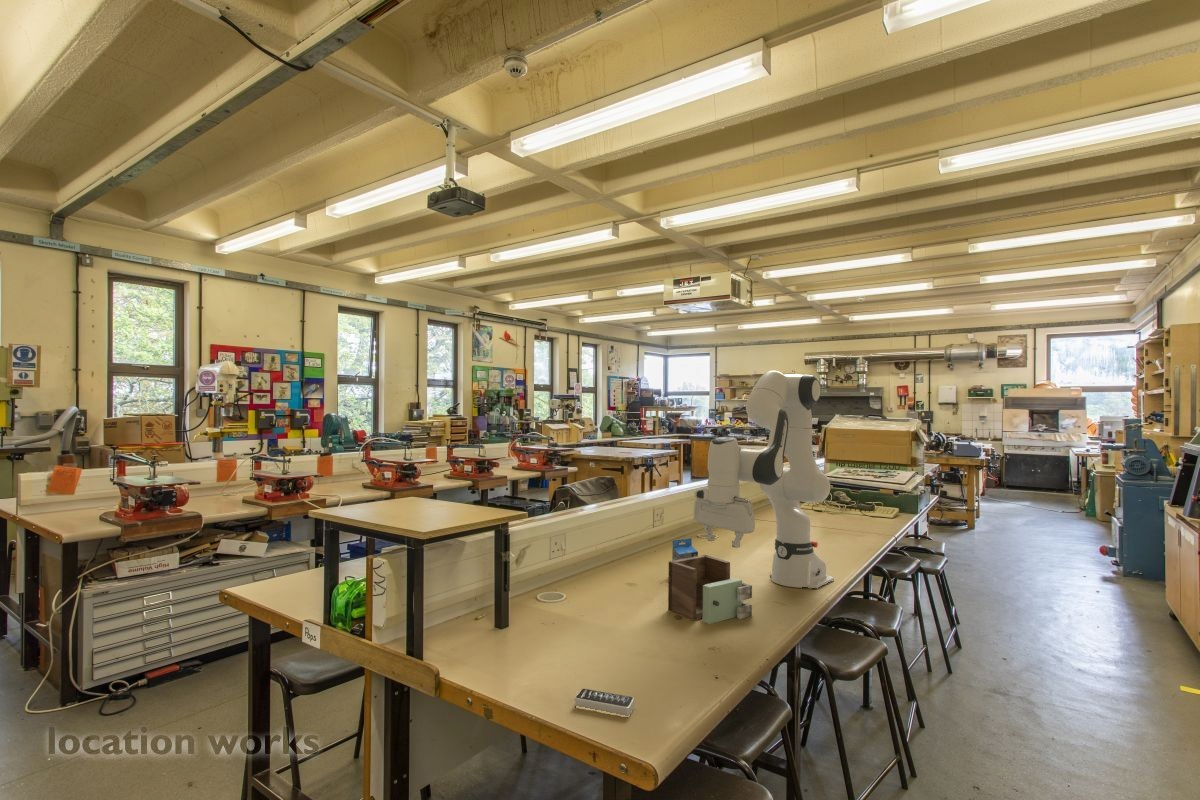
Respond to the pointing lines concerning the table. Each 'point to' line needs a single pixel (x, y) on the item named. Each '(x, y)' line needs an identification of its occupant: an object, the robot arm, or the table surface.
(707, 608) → the door
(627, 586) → the table surface
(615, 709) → the multiport hub
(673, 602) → the cabinet
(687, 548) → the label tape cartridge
